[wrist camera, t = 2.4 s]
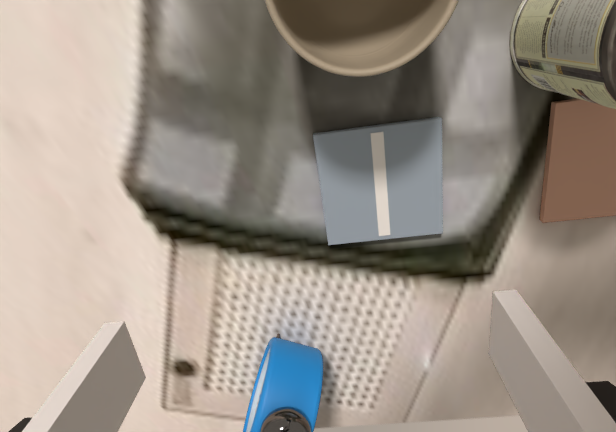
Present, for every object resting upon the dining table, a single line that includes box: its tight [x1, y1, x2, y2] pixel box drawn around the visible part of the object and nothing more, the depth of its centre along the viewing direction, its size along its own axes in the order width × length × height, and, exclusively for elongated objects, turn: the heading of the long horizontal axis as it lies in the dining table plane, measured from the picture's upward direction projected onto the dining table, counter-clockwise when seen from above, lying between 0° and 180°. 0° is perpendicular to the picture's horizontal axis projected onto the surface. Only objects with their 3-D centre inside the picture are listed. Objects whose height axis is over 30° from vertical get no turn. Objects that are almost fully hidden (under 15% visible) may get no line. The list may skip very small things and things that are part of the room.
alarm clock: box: [243, 334, 323, 432], centre depth 45 cm, size 13×6×15 cm, turn 163°
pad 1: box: [313, 117, 443, 245], centre depth 41 cm, size 12×12×1 cm
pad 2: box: [540, 99, 616, 223], centre depth 39 cm, size 12×12×1 cm
